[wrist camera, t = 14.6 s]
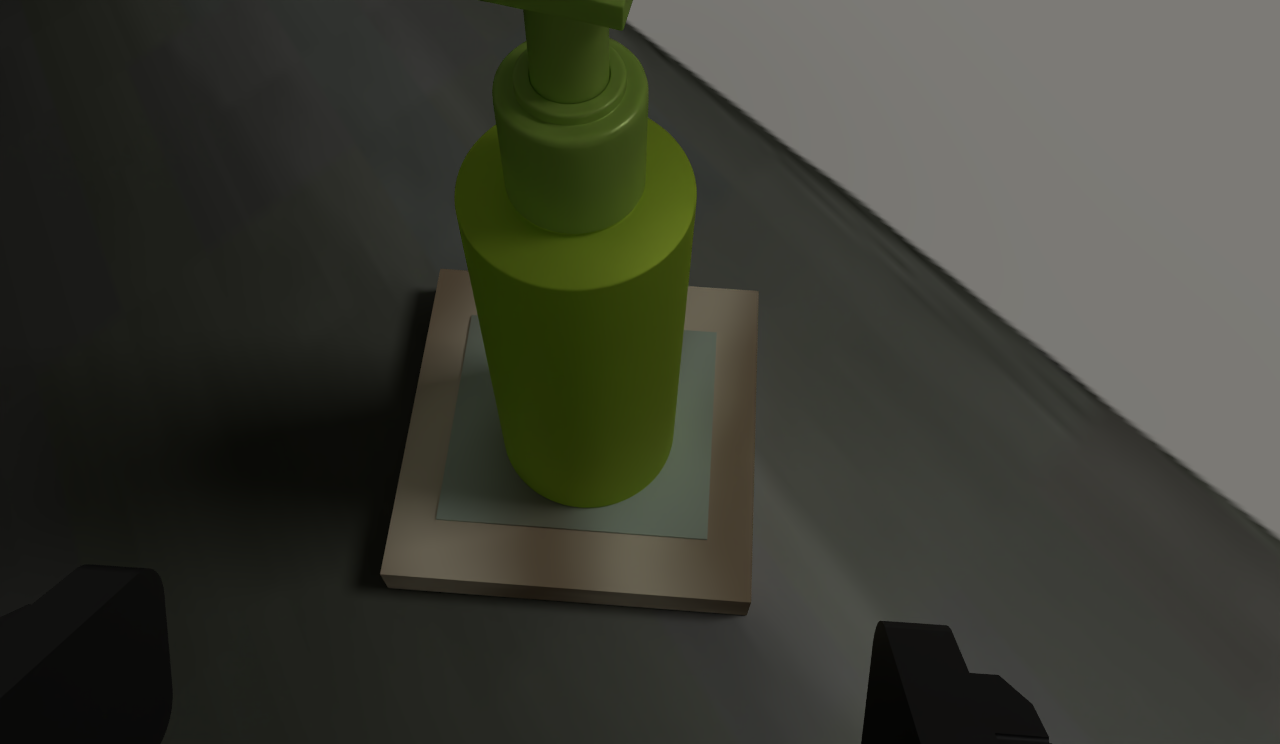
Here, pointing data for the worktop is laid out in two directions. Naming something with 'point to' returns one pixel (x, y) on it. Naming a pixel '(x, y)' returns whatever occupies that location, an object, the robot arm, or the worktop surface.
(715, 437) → the board
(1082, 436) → the worktop surface
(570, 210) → the soap dispenser
